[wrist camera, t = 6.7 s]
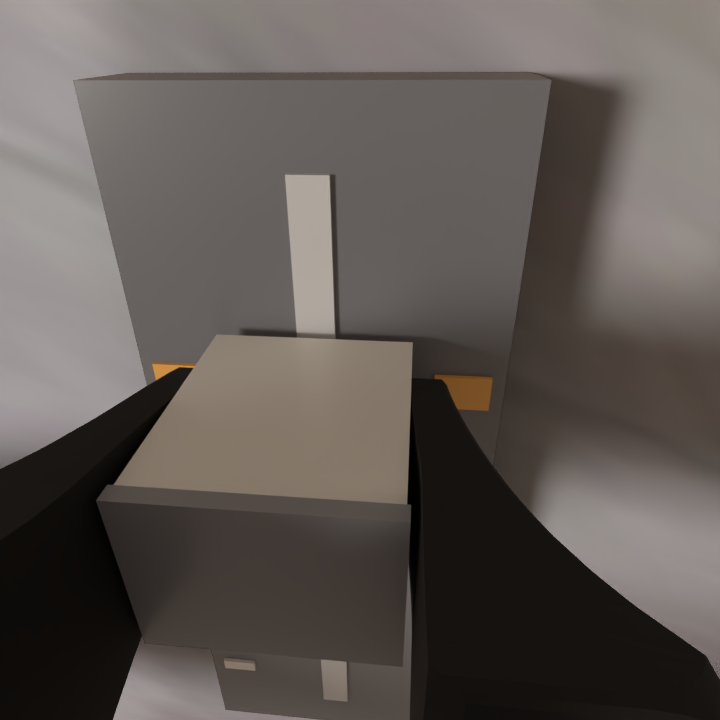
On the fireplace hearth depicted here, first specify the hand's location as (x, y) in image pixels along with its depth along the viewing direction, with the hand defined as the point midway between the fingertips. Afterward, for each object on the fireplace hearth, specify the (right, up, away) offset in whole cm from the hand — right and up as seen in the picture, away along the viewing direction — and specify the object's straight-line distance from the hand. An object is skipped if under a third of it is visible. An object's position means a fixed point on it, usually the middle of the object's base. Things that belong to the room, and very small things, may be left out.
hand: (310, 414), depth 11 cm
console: (0, -2, +5) cm, 5 cm away
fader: (0, 0, +1) cm, 1 cm away
